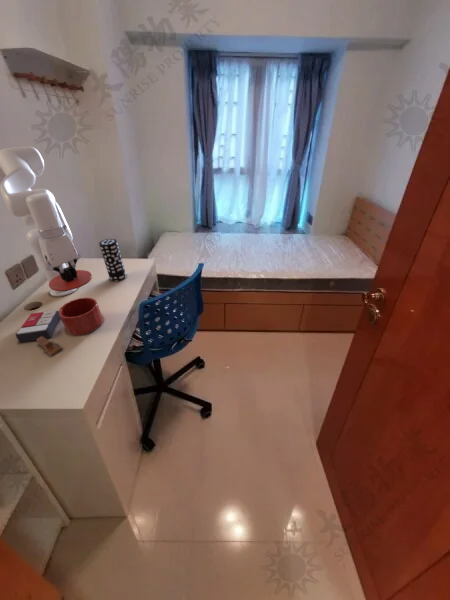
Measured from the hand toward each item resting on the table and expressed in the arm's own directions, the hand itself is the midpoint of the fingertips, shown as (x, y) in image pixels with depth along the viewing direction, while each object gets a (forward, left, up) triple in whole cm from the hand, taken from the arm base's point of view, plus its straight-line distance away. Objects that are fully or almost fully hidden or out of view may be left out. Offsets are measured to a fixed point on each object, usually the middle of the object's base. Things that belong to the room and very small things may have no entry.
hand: (70, 278), depth 106 cm
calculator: (-12, -13, -20) cm, 27 cm away
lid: (0, 0, -1) cm, 1 cm away
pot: (+1, -2, -20) cm, 20 cm away
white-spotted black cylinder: (-19, +32, -20) cm, 42 cm away
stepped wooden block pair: (+2, -18, -20) cm, 27 cm away
